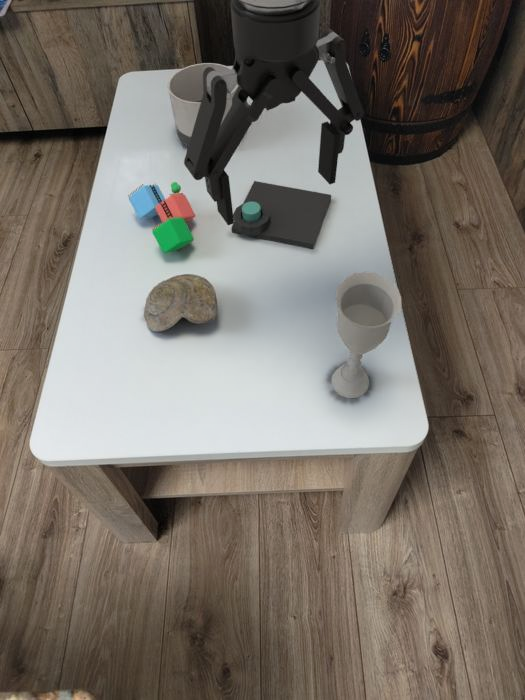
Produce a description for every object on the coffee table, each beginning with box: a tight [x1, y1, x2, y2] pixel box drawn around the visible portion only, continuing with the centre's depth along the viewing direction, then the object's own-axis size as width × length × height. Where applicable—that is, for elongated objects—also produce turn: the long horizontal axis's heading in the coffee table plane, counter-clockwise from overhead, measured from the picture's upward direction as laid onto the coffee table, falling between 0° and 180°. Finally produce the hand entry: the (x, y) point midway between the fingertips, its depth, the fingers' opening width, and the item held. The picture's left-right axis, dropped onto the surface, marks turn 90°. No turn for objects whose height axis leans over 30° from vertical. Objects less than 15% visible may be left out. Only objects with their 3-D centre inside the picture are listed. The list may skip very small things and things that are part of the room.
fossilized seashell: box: [143, 273, 218, 333], centre depth 73 cm, size 11×11×7 cm
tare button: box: [242, 202, 261, 222], centre depth 81 cm, size 3×3×2 cm
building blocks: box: [127, 181, 196, 254], centre depth 81 cm, size 8×8×12 cm
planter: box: [167, 62, 239, 147], centre depth 93 cm, size 13×13×10 cm
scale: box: [231, 180, 332, 250], centre depth 83 cm, size 14×13×3 cm
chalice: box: [331, 271, 402, 399], centre depth 60 cm, size 7×7×18 cm
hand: (277, 196), depth 59 cm, fingers open, 13 cm apart
